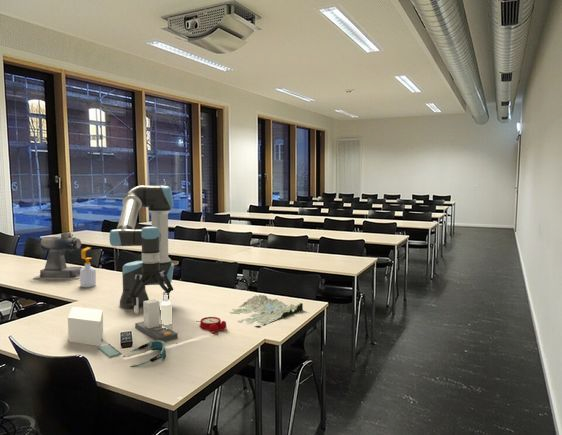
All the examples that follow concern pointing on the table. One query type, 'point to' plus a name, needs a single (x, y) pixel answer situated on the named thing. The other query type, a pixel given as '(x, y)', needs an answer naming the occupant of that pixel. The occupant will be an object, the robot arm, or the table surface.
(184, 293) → the table surface
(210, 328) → the alarm clock
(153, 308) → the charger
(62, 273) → the grinder
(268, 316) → the topographic map model
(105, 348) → the felt mat
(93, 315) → the white rectangular block
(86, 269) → the soap bottle
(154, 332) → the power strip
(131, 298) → the robot arm
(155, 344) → the sunglasses
